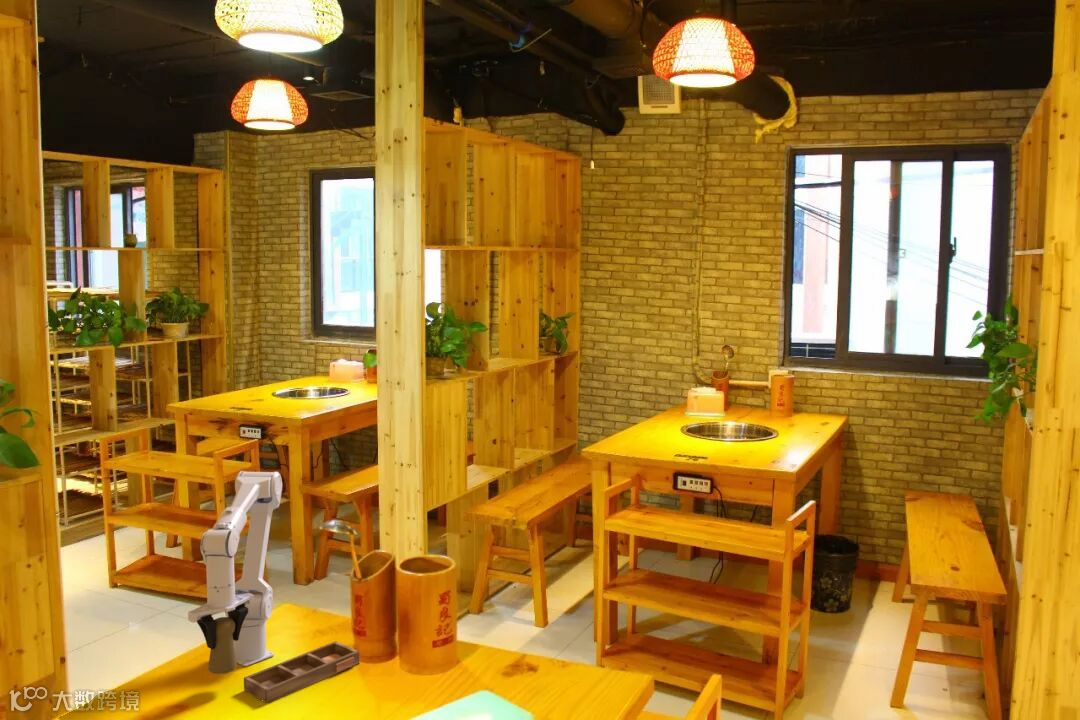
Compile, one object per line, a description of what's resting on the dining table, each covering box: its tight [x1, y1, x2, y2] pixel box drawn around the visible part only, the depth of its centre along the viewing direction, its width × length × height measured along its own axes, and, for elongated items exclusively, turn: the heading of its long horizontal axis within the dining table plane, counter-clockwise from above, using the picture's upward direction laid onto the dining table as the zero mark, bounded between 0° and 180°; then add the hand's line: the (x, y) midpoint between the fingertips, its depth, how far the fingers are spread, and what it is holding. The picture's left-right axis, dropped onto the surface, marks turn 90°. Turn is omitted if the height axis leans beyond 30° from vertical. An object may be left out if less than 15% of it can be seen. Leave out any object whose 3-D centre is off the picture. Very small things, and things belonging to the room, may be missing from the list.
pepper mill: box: [207, 616, 238, 675], centre depth 197 cm, size 6×6×11 cm
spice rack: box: [243, 641, 360, 704], centre depth 204 cm, size 9×25×3 cm, turn 141°
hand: (222, 643), depth 198 cm, fingers closed on pepper mill, 5 cm apart
